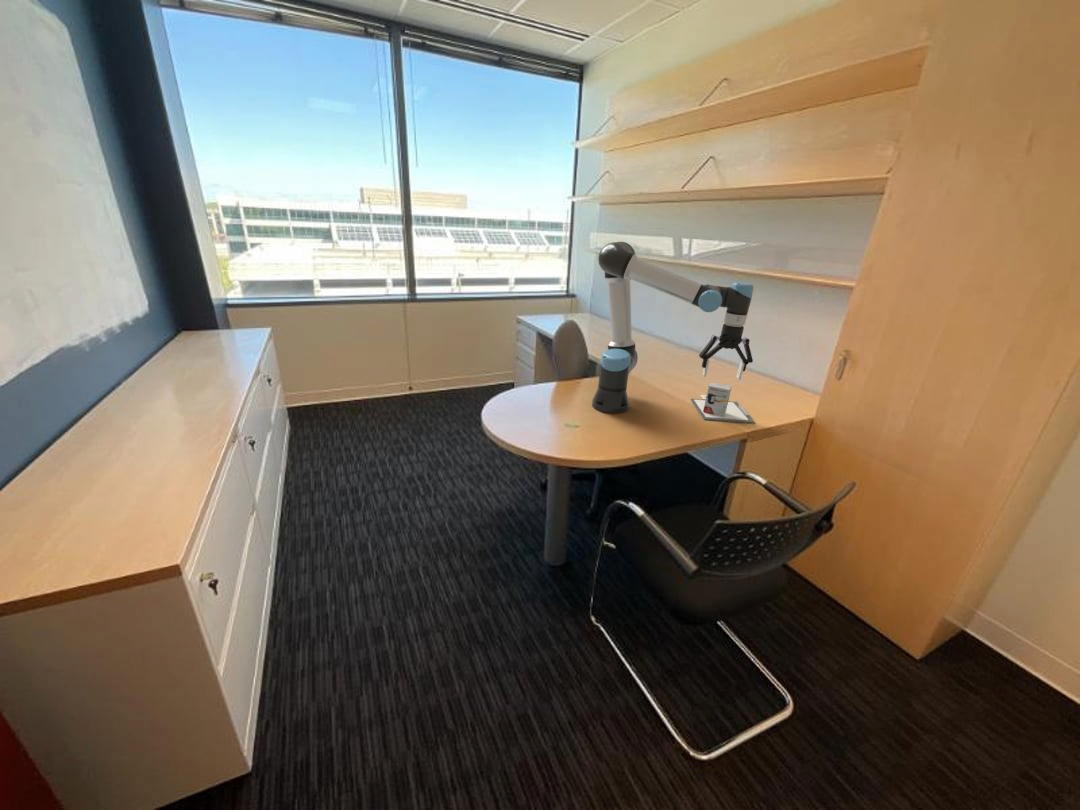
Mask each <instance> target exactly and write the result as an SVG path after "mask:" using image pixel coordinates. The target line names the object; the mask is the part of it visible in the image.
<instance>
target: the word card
mask: <svg viewBox="0 0 1080 810" xmlns="http://www.w3.org/2000/svg"><path fill="white" fill-rule="evenodd" d="M706 396H707V394H700V397H701V399H705V400H706Z"/></svg>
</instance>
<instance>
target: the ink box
mask: <svg viewBox="0 0 1080 810" xmlns="http://www.w3.org/2000/svg"><path fill="white" fill-rule="evenodd" d="M731 392H732V386H731V385H727V384H721V383H718V382H717V383H715V382H710V383H709V384H708V388H707V392H706V395H707V396H706V401H705V405H704V410H703V412H705V413H710V414H715V415H719V416H725V413H726V409H727V405H728V401H730V396H731Z"/></svg>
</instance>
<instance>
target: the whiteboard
mask: <svg viewBox="0 0 1080 810" xmlns="http://www.w3.org/2000/svg"><path fill="white" fill-rule="evenodd" d="M690 401H691V402H692V404H693V405H694V407H695V408H696V411H698V413H699V414H700V416H701V417H702V419H703V420H704V421H710V422H711V421H713V422H714V421H715V422H726V423H727V422H728V423H739V424H740V423H742V424H752V423H755V424H756V421H755V420H754V419H753V418H752V417H751V416H750V414H749V413H748V412H747V410H745V408H744V407H743V406H742V405H740V404H739V403H738V402H737V401H731V400H729V401H728V405H727V409H726V413H725V416H719V415H715V414H710V413H705V412H703V410H704V405H705V401H706V400H705V399H703V398H690Z"/></svg>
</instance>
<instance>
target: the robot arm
mask: <svg viewBox="0 0 1080 810" xmlns="http://www.w3.org/2000/svg"><path fill="white" fill-rule="evenodd" d="M598 265H599V266H600V268H601V270H602V271H604V279H605V280H606V281H607V282H608V292H609V293H608V295H609V317H610V320H609V321H610V322H609V323H610V340H609V342H608V343H607V349H606V350H604V351H603V352H602V354H601V357H600V361H599V362H600V365H599V366H600V367H599V377H598V385H597V388H596V389H597V390H596V392H595V393H594V396H593V397H592V401H591V402H592V403H591V406H592V408H593V409H595V410H597V411H599V412H603V413H608V414H621V413H623V414H624V413H625V412H627V411H628V410H629V405H630V404H629V403H630V401H629V397H628V392H627V389H628V380H629V375H630V373H631V372H632V370H633V369H635V367H636V366H637V364H638V359H639V358H638V357H639V356H638V352H637V350H636V341H634V340H633V338H632V311H631V310H632V308H631V307H632V306H631V305H632V303H631V301H632V299H631V280H632V281H635V282H638V283H640V284H642V285H644V286H647V287H649V288H652V289H655V290H658V291H659V292H662V293H664V294H666V295H669V296H671V297H674V298H676V299H679V300H681V301H684V302H686V303H689V304H691V305H693V306H694V307H695V306H696V307H698V308H699V309H700V310H701V311H703V312H705V313H713V312H715V311H717V310H718V309H720V308H726V311H725V315H724V319H723V322H724V323H723V324H722V329H721V332H720V335H719V336H717V335H715V334H712V335H711V338H710V340H709V342H707V344H706V345H705V347H704V348H703V349H702V350H701V352H699V355H698V356H699V358H700V359H702V363H701V367H702V368H703V370H702V376H703V377H707V374H708V369H709V366H710V365H709V364H710V360H709V359H711V358H712V357H713V356H714V355H716V353H719V351H720V350H722V349H725V350H726V349H729V350H730V349H731V350H733V349H735V351H736V352H737V354H738V356H739V358H740V359H741V361H739V365H738V370H737V373H736V379H737V380H741V379H742V375H743V372H745V371H746V368H747V365H749V363H751V364H752V363H753V362H754V359H753V355H752V350H751V348H750V338H748V337H744V338H742V337H743V333H744V329H745V328H744V326H745V325H746V321H747V317H748V313H749V309H750V306H751V302H752V297H753V293H754V285H753V284H751V283H747V282H738V281H737V282H733V283H732V285H731V286H729V287H728V286H722V285H721V286H720V285H712V284H708V283H707V284H702V283H699V282H697V281H695V280H692V279H689V278H688V277H684V276H682V275H680V274H677V273H675V272H672V271H670V270H667V269H665V268H663V267H660V266H658V265H655V264H653V263H650V262H648V261H645V260H642V259H640V258H639V257H638V256H637V254H636V252H635V249H634V247H632V245H630V244H629V243H628V242H626V241H616V242H614V241H613V242H610V243H609V242H608V243H607V244H605V245H604V246H603V247H602V248H601V250H600V252H599V254H598ZM717 341H719V342H718V343H717V344H716V342H717ZM741 343H742V344H743V347H744V352H745V354H744V353H743V352H742V351H743V350H742V349H741V347H740V346H739V345H740V344H741ZM715 344H716V346H714V345H715ZM713 346H714V347H713ZM712 347H713V348H712ZM745 355H746V356H745Z"/></svg>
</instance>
